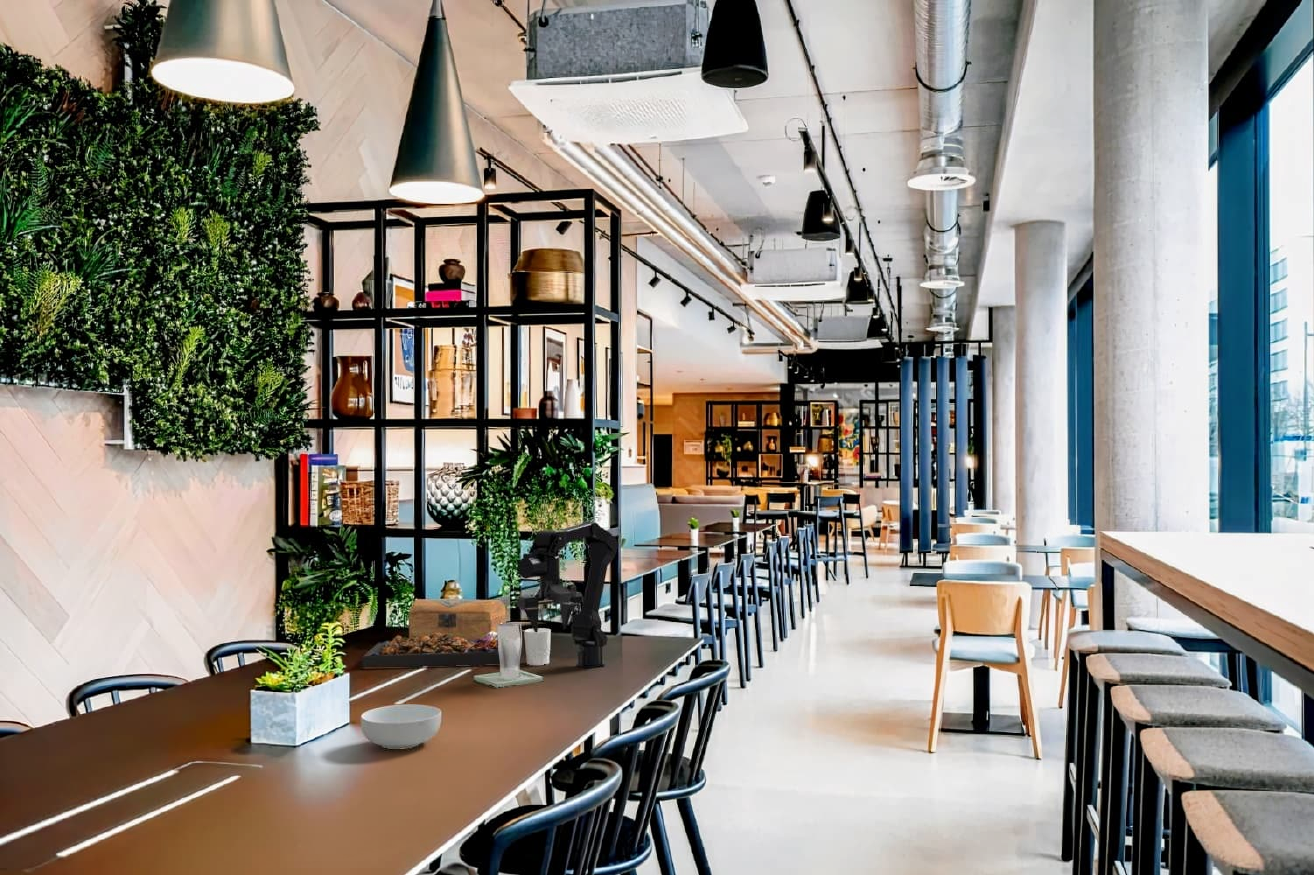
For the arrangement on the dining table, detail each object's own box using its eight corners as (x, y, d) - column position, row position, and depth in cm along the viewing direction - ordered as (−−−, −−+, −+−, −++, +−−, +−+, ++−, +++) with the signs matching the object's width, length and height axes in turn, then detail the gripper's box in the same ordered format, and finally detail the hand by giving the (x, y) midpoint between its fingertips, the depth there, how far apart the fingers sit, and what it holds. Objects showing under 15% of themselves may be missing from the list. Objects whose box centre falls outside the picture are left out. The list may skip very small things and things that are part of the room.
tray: (518, 673, 308) (518, 669, 308) (542, 681, 296) (542, 676, 296) (474, 680, 300) (474, 675, 300) (497, 688, 288) (497, 683, 288)
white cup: (553, 661, 326) (552, 628, 327) (548, 666, 318) (547, 632, 319) (528, 661, 327) (527, 628, 327) (522, 666, 319) (521, 632, 320)
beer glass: (505, 675, 303) (505, 621, 303) (527, 676, 300) (526, 622, 300) (492, 679, 297) (491, 625, 297) (514, 681, 294) (513, 626, 294)
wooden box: (406, 643, 365) (405, 602, 366) (426, 635, 381) (426, 596, 382) (489, 644, 359) (488, 603, 359) (506, 636, 375) (506, 597, 375)
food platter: (519, 652, 346) (519, 620, 346) (514, 666, 322) (514, 632, 322) (378, 656, 343) (378, 624, 343) (362, 671, 319) (362, 636, 319)
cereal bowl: (370, 760, 220) (370, 725, 220) (353, 742, 235) (353, 709, 235) (451, 749, 228) (450, 715, 228) (430, 732, 243) (429, 700, 243)
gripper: (534, 579, 291) (535, 637, 291) (592, 574, 302) (593, 630, 302) (515, 576, 300) (515, 632, 300) (572, 571, 311) (573, 625, 311)
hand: (550, 630), depth 303 cm, fingers open, 9 cm apart
